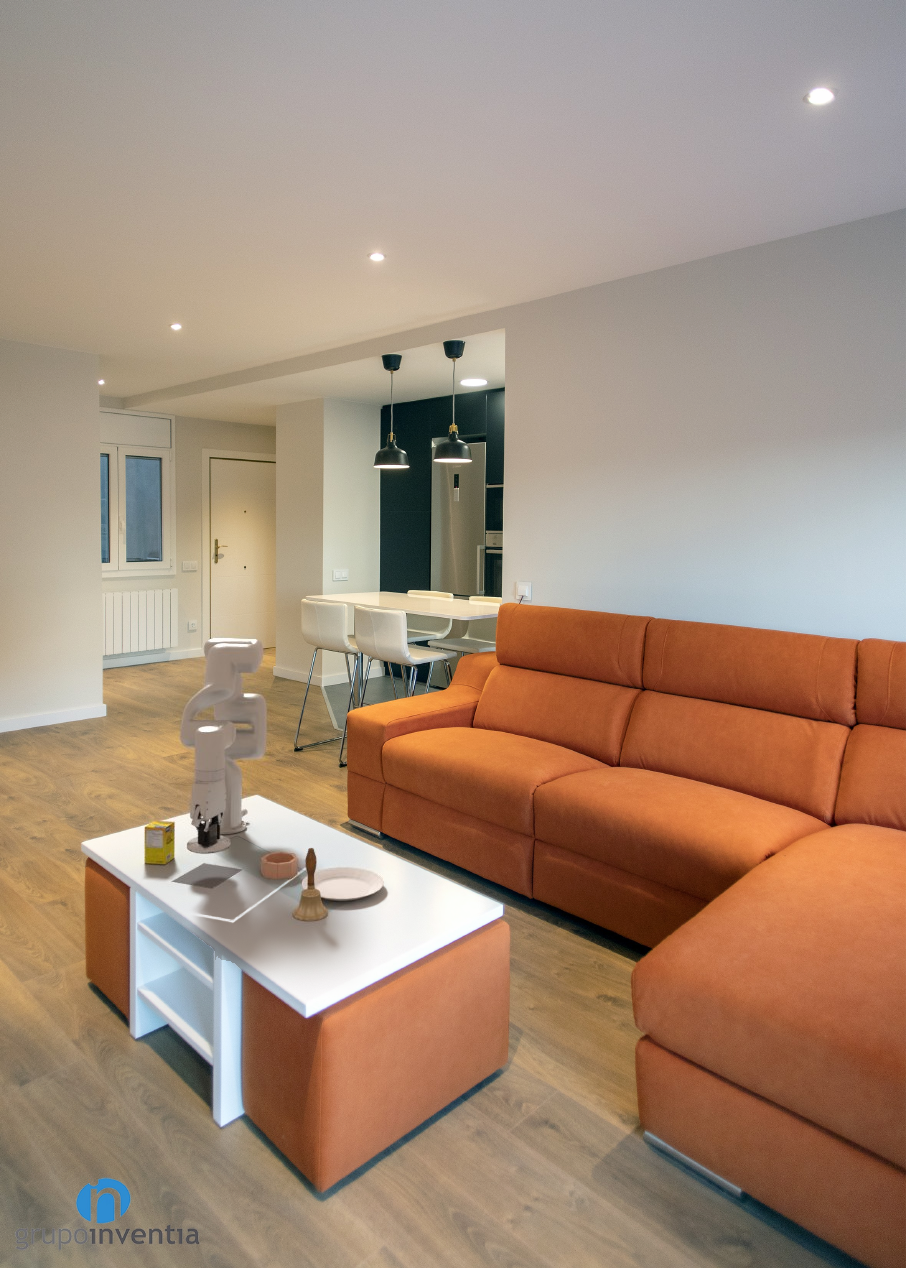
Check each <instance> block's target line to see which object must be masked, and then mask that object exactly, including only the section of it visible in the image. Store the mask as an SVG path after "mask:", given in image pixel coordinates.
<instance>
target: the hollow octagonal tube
mask: <svg viewBox="0 0 906 1268" xmlns="http://www.w3.org/2000/svg"><path fill="white" fill-rule="evenodd" d="M298 867H299V857H298V856H297V855H296V854H295V853H293V852H286V851H276V852H269V853H267V854H265V855H263V856H262V857H261V858H260V873H261V875H262V876H263V878H268V879H272V880H282V879H283V880H284V879H288V880H292V879H293V878H295V877H296V876H298V874H299V868H298Z"/></svg>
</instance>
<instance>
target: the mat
mask: <svg viewBox="0 0 906 1268" xmlns="http://www.w3.org/2000/svg"><path fill="white" fill-rule="evenodd" d="M242 870H243V869H242V868H236V867H229V866H224V865H217V864H211V863H206V862H203V863H202V864H200V865H198V866H197V867H195V868H193V869H191V870H190V871H187V872H185V873H183V874H182V875H180V876H178V877H177V878H175V879H174V880H173V879H172V881H171V882H174V883H177V884H185V885H190V886H195V887H201V888H207V889H214V888H216V887H217V886H219V885H221V884H222V883H224V882H225V881H227V880H228V879H230V878H231V877H233V876H235V875H236V874H238V873H239V872H242Z"/></svg>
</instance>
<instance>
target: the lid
mask: <svg viewBox="0 0 906 1268" xmlns="http://www.w3.org/2000/svg"><path fill="white" fill-rule="evenodd" d="M202 823H203V824H204V823H205V822H204V821H203V822H202ZM208 831H210V844H209V845H208V846H204V845H199V844H198V836H196V837H194V838H191V839H189V840H188V841H187V842H186V849H187V850H188V851H189V852H190V853H191V852H192V853H194V854H201V855H202V854H203V855H209V854H216V853H220V852H223V851H226V850H227V849H229V848H230V847H231V843H232V842H231V839H230V838H229V837H227V836H224V835H220V839H218V840H217V823H216V822H210V821H209V826H208Z"/></svg>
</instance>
